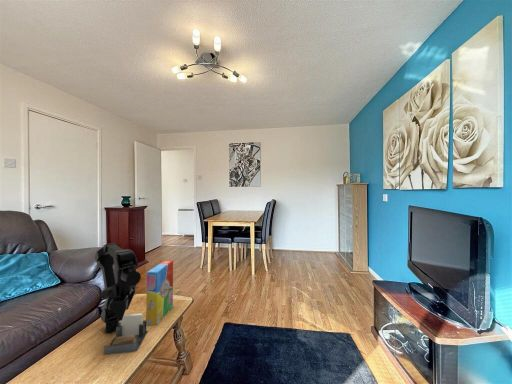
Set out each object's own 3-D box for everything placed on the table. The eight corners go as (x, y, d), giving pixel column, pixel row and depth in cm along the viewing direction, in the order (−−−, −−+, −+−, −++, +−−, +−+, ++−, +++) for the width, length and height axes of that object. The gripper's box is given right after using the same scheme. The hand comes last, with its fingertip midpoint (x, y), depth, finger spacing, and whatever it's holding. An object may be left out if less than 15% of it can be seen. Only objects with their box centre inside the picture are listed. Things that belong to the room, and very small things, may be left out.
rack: (118, 335, 104) (118, 322, 104) (148, 332, 106) (148, 320, 106) (102, 357, 90) (102, 342, 90) (137, 353, 92) (137, 338, 92)
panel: (121, 334, 103) (121, 314, 103) (142, 332, 105) (142, 313, 105) (120, 336, 102) (120, 316, 102) (141, 334, 103) (141, 314, 103)
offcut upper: (116, 341, 95) (116, 337, 95) (135, 338, 97) (135, 334, 97) (113, 346, 92) (113, 342, 92) (132, 343, 94) (132, 339, 94)
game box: (156, 328, 110) (156, 272, 110) (145, 327, 110) (145, 272, 110) (173, 306, 131) (173, 260, 131) (163, 306, 131) (164, 260, 131)
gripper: (110, 273, 106) (110, 306, 106) (94, 290, 88) (93, 330, 88) (136, 271, 109) (136, 303, 109) (125, 287, 91) (125, 325, 91)
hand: (123, 314), depth 99 cm, fingers open, 9 cm apart
